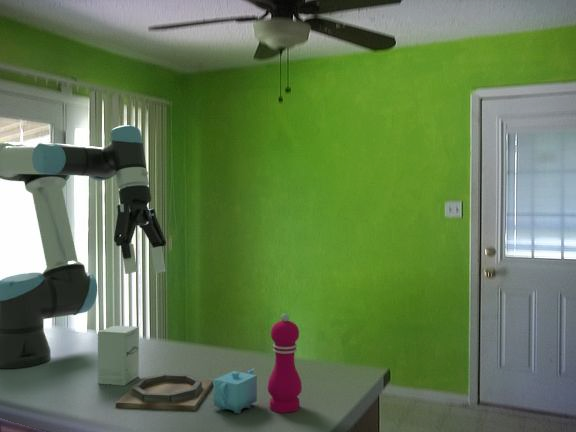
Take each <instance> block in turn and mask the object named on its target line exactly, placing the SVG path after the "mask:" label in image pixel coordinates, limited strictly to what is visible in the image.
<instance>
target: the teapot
mask: <svg viewBox="0 0 576 432" xmlns="http://www.w3.org/2000/svg"><path fill="white" fill-rule="evenodd" d="M254 371H255V368H254V367H253V368H251V369H248V371H247V373H246V372H240V371H237V370H233V371H231V372H228V373H225V374H223V375H221V376H219V377H217V378H214V379H213V407H217V408H219V410H222V411H223V410H224V411H225V410H229V411H233V413H234V414H241V412H242V409H244V408H246V409H247V408H251V407H252V406H251V405H253V403H256V402H257V400H258V399H257V397H258V393H257V392H258V375H256V374H253V372H254Z"/></svg>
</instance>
